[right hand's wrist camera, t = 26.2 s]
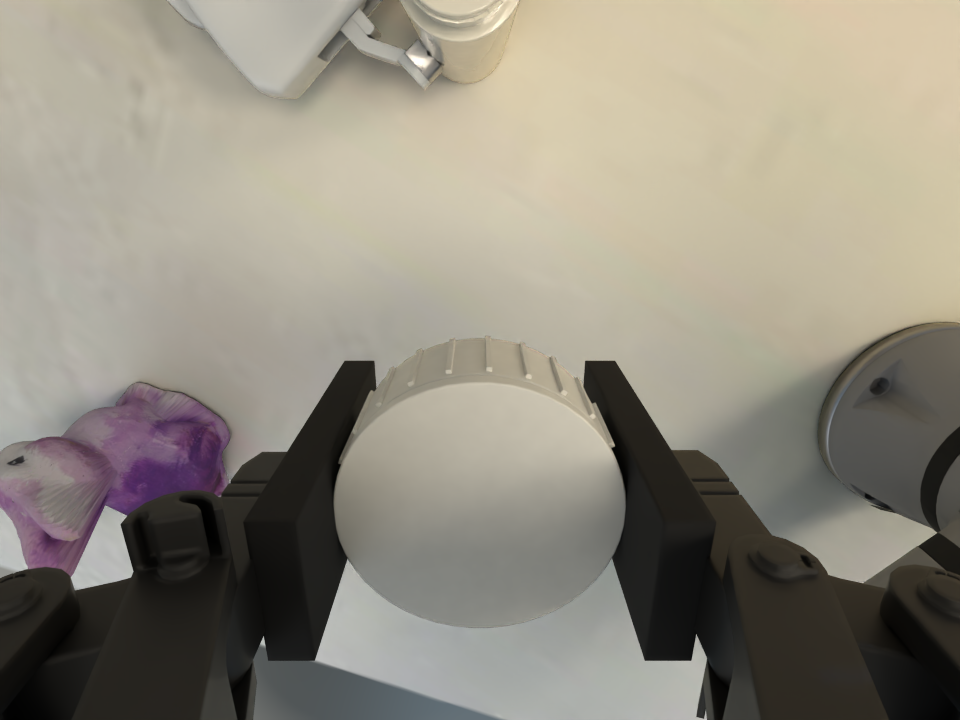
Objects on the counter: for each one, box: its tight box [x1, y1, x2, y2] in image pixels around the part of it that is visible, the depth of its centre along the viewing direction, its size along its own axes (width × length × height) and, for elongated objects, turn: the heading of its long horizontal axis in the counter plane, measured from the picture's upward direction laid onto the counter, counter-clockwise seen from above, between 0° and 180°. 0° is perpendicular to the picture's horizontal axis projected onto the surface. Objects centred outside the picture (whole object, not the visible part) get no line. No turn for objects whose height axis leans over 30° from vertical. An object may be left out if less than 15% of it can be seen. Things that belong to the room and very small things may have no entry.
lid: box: [333, 336, 626, 628], centre depth 11 cm, size 6×6×2 cm
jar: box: [400, 0, 520, 84], centre depth 26 cm, size 5×5×18 cm
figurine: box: [0, 383, 230, 577], centre depth 37 cm, size 9×10×15 cm
